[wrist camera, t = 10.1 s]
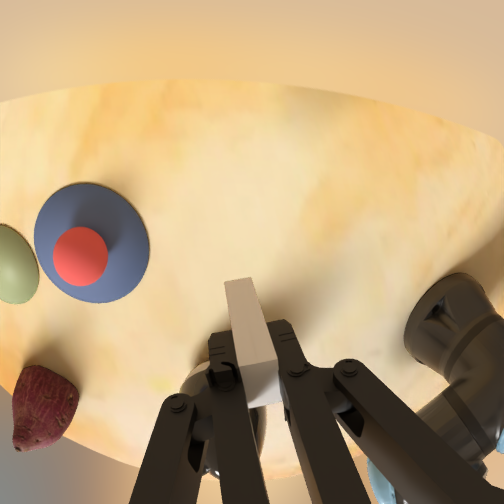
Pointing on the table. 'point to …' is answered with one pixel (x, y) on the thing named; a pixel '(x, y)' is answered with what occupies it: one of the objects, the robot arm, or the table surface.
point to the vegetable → (41, 408)
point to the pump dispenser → (194, 386)
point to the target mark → (107, 226)
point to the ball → (80, 256)
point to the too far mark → (16, 268)
